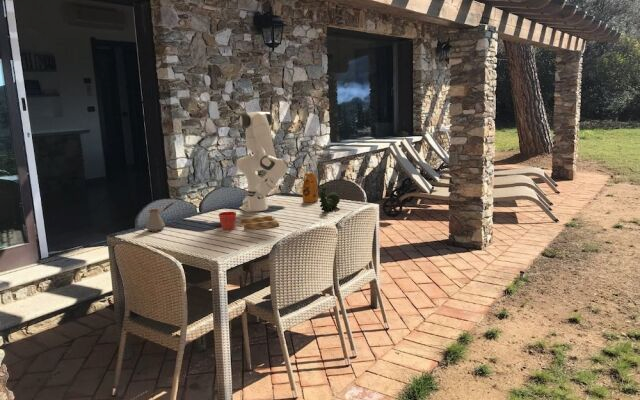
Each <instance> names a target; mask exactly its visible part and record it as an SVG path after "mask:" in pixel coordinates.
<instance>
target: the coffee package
mask: <svg viewBox="0 0 640 400" xmlns="http://www.w3.org/2000/svg"><path fill="white" fill-rule="evenodd" d="M304 176H305V179H304V181H303V183H302V186H301V187H302V188H301V190H302V201H303V203H310V204H311V203H314V202H317V201H318V200H319V187H318V179H317V177H316V176H315V174H314V172H313V171H310V173H307V172H306V173H305V174H304Z"/></svg>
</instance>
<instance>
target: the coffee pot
mask: <svg viewBox="0 0 640 400" xmlns="http://www.w3.org/2000/svg"><path fill="white" fill-rule="evenodd" d="M172 205H174V202H171V203H169V204H168V205H167V206H166V207H164V208H162V210H161V211H160V209H158V208H155V209H150V210H148V213H149V217H148V219H147V223H146V225H145V228H146V230H147V231H149V232H150V231H157V232H159V231H158V230H161V231H163V230H164V228H165V226H166V224H165V222H164V220H163V219H162V217H161V214H162V213H163V212H164V211H166V210H167V209H168V208H170V207H171V206H172Z"/></svg>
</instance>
